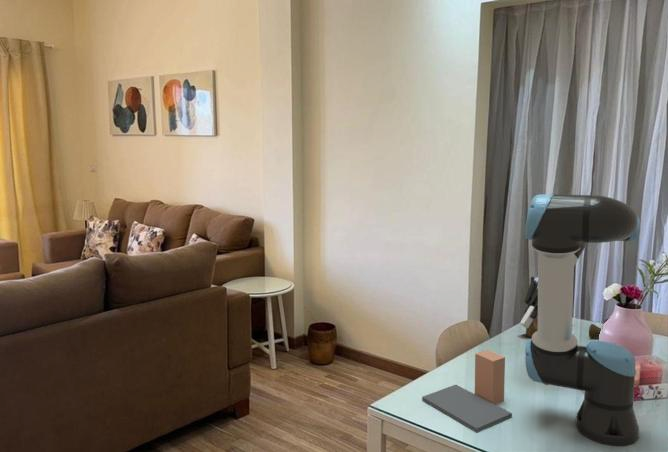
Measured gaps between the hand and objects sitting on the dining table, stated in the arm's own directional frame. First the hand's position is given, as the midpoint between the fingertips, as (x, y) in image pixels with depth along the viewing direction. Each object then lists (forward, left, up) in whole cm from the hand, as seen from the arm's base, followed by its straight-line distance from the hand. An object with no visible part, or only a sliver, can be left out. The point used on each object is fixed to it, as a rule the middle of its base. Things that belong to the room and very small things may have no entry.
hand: (524, 325), depth 171 cm
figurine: (+13, -28, -20) cm, 37 cm away
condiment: (+25, -36, -20) cm, 48 cm away
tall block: (0, +16, -20) cm, 25 cm away
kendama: (+8, -59, -20) cm, 63 cm away
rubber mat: (0, +26, -20) cm, 32 cm away
